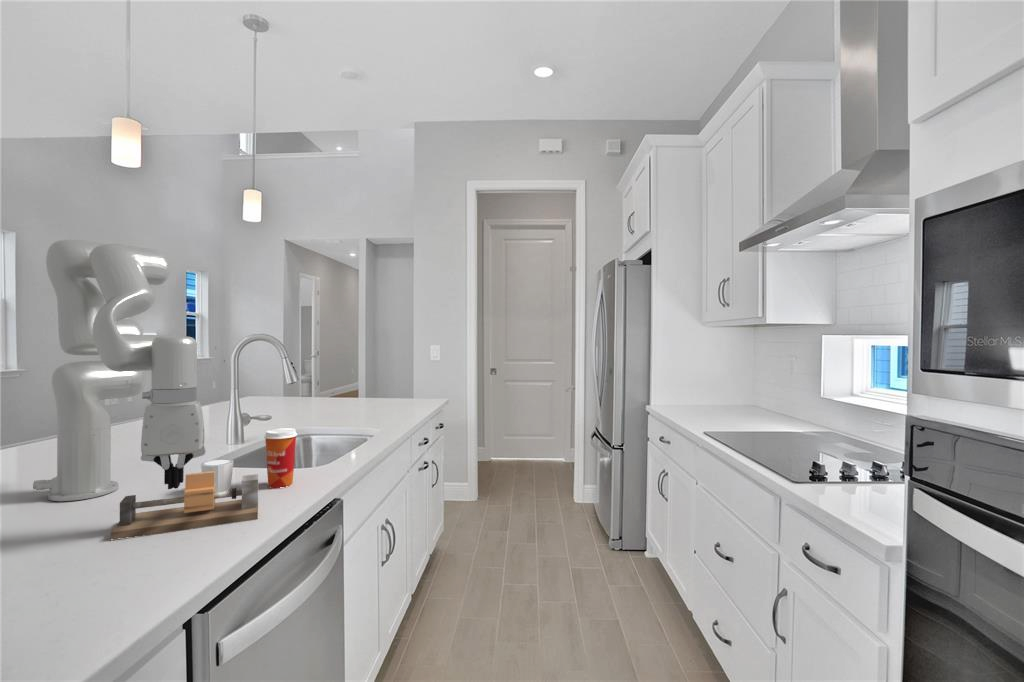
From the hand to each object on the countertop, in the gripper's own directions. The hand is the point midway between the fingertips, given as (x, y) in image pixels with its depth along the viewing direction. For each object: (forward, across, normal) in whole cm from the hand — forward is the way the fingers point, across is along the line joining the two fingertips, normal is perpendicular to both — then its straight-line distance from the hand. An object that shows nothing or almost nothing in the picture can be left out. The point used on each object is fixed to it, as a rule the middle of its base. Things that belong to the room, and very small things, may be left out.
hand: (174, 486), depth 97 cm
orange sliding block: (+5, +5, 0) cm, 7 cm away
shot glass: (+8, +6, +20) cm, 22 cm away
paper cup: (+8, +20, +18) cm, 28 cm away
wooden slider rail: (+7, +3, 0) cm, 8 cm away
